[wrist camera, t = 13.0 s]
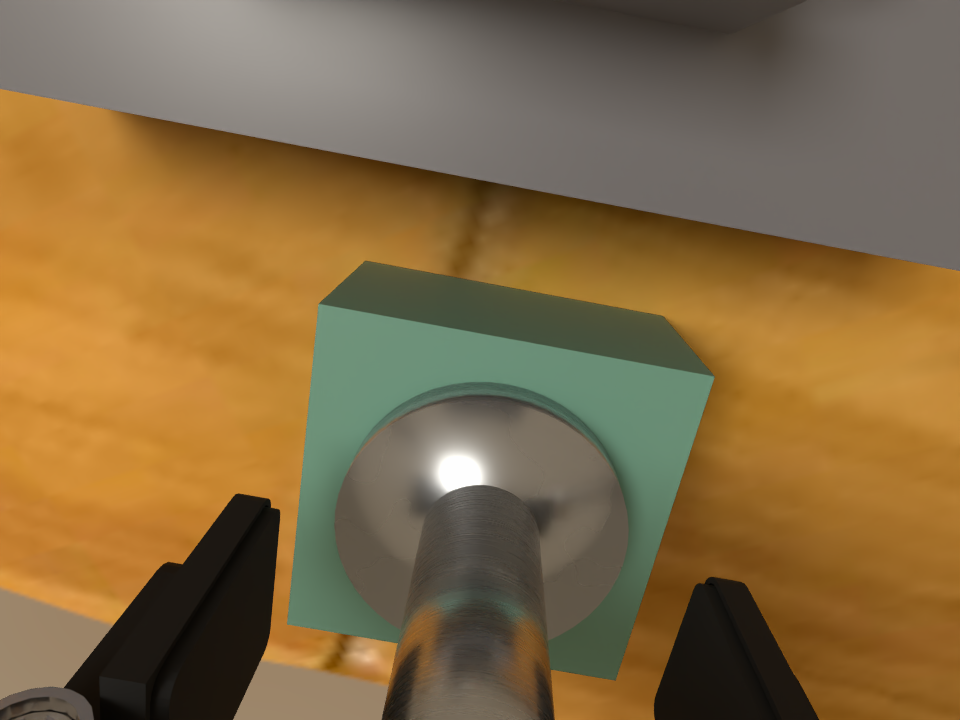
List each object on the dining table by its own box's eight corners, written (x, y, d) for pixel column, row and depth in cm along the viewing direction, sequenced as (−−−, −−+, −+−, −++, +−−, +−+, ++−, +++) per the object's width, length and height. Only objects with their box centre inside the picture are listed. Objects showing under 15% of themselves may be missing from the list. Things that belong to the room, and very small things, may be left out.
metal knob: (619, 348, 17) (848, 783, 6) (568, 539, 19) (661, 1140, 8) (394, 306, 17) (167, 666, 5) (367, 502, 19) (157, 1061, 7)
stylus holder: (662, 316, 17) (714, 377, 13) (591, 563, 20) (615, 680, 16) (365, 260, 17) (318, 304, 13) (334, 517, 20) (287, 624, 15)
